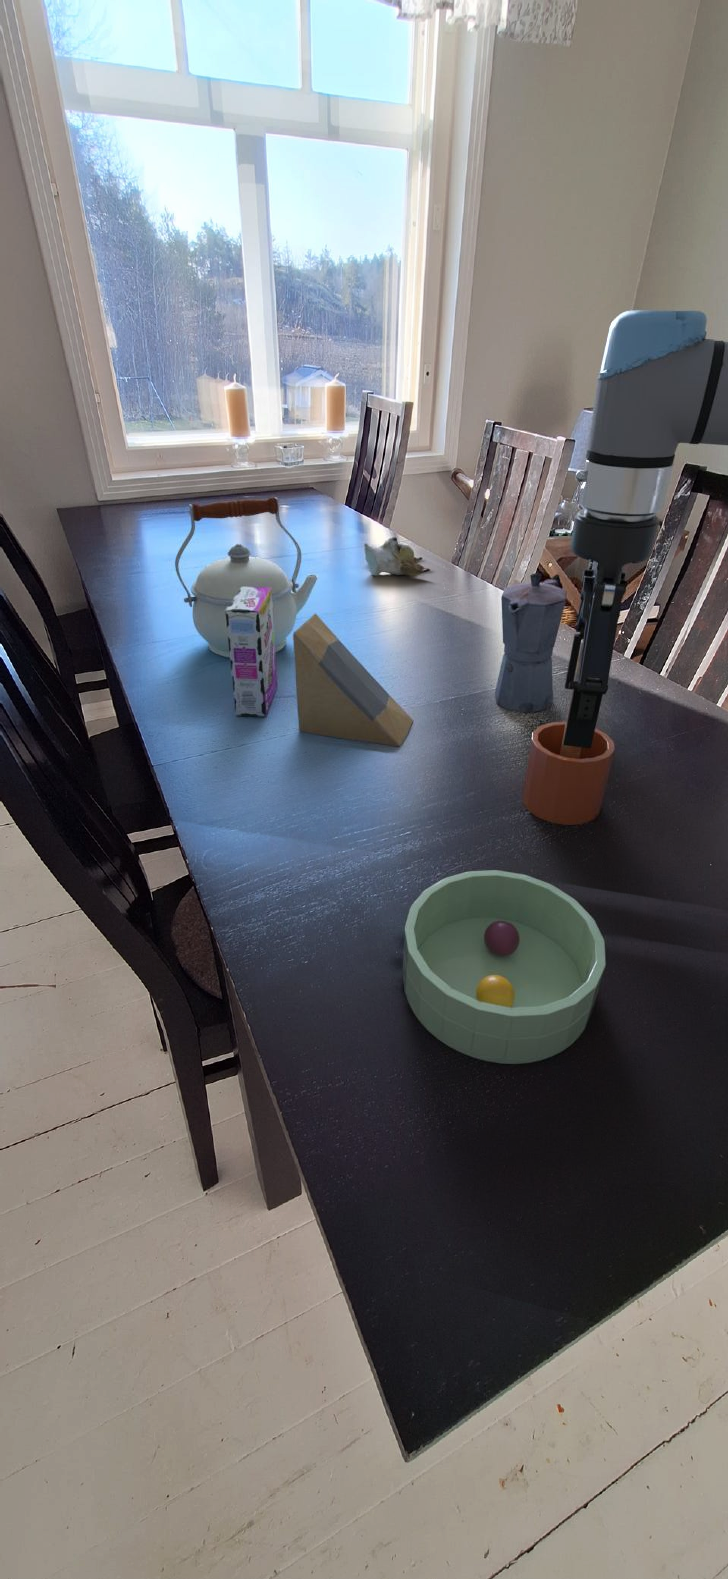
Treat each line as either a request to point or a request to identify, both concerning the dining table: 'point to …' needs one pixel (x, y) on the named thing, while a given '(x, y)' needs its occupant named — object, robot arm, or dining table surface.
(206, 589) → the kettle
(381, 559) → the ceramic sculpture
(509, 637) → the moka pot
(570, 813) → the crock
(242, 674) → the candy bar box
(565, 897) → the bowl
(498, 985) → the bead
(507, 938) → the bead
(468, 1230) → the dining table surface
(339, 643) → the sandwich container
